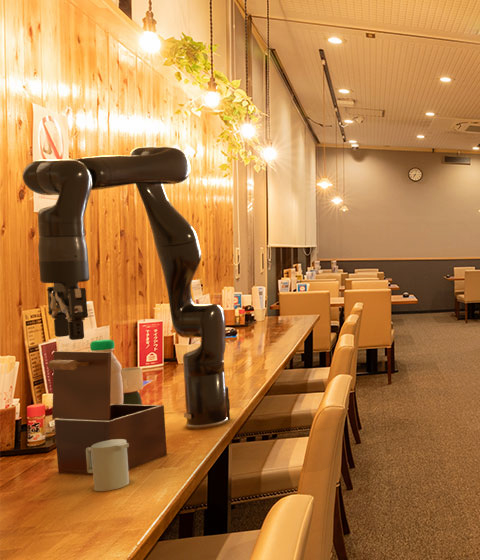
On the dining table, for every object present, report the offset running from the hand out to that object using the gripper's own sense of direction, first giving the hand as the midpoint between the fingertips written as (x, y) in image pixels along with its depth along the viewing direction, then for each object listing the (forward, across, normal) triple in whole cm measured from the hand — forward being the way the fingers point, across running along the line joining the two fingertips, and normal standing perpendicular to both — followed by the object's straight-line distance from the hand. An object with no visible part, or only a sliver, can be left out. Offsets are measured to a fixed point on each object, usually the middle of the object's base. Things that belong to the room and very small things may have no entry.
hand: (69, 337), depth 132 cm
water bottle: (+31, +36, -16) cm, 50 cm away
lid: (+11, +7, -4) cm, 14 cm away
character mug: (+31, +58, -28) cm, 72 cm away
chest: (+31, +9, -9) cm, 33 cm away
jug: (+31, -7, -3) cm, 32 cm away
